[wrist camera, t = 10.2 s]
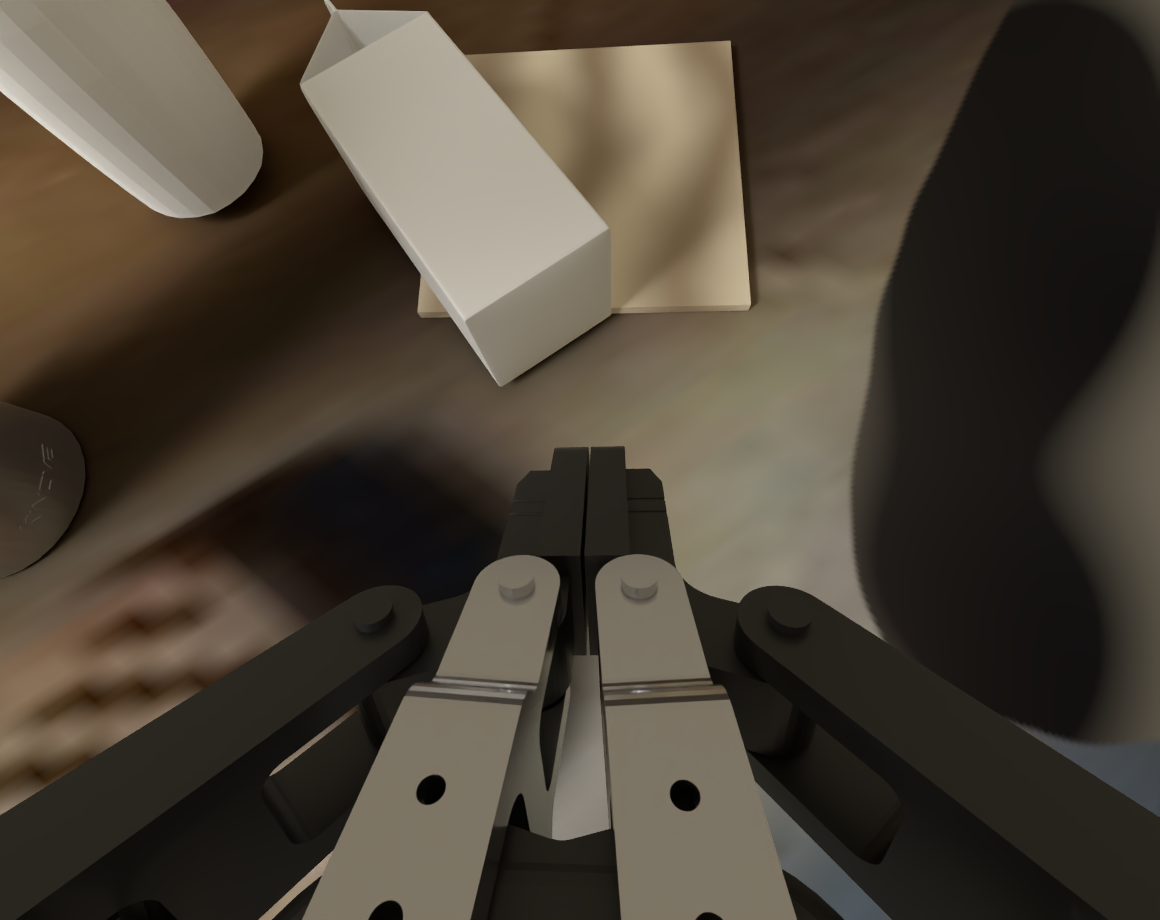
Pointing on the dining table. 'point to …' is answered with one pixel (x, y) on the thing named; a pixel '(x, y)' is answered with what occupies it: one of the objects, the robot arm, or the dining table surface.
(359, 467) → the dining table surface
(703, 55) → the birch board
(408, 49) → the milk carton
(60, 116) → the cup
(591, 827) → the dining table surface
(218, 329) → the dining table surface
